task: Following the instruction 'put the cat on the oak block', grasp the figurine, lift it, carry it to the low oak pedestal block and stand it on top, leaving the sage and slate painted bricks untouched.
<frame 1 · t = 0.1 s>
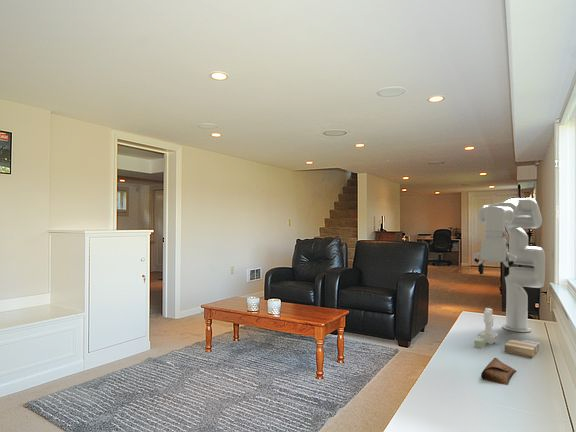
hand: (493, 275, 171), 31 cm above the table, tool pointing down, fingers open, 9 cm apart
sunglasses case: (499, 376, 140), on the table
brick slate: (530, 348, 172), on the table
figurine: (488, 342, 180), on the table
brick sage: (479, 346, 174), on the table
oak pedestal: (521, 351, 167), on the table
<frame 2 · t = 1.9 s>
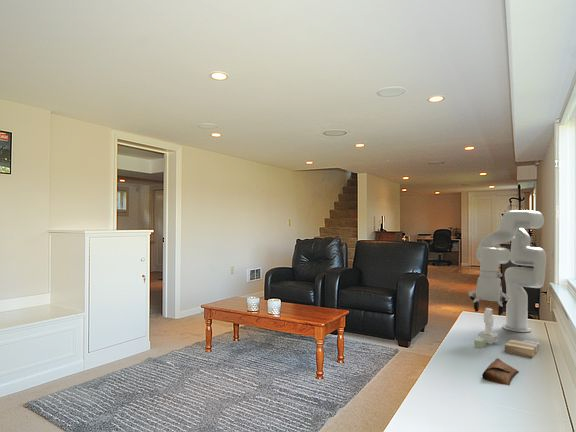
hand: (488, 313, 180), 13 cm above the table, tool pointing down, fingers open, 9 cm apart
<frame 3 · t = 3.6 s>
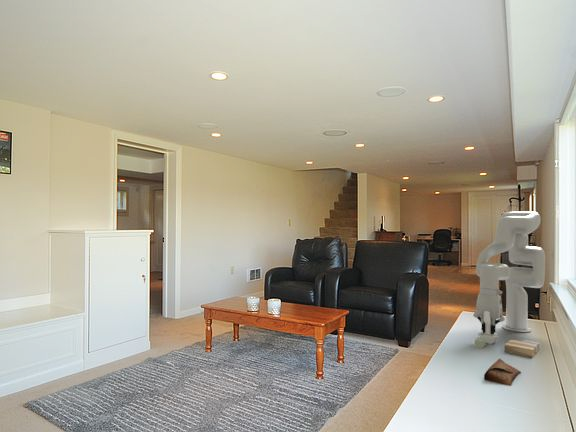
hand: (488, 332, 180), 4 cm above the table, tool pointing down, fingers closed on figurine, 2 cm apart
figurine: (488, 342, 180), on the table, touching gripper
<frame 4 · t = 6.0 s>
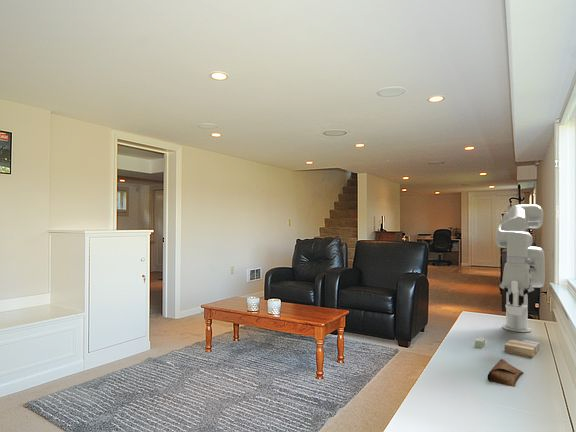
hand: (516, 304, 169), 19 cm above the table, tool pointing down, fingers closed on figurine, 2 cm apart
figurine: (515, 314, 169), point 15 cm above the table, touching gripper
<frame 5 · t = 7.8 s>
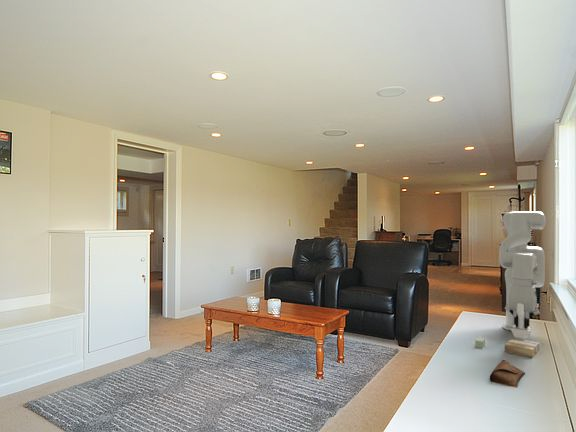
hand: (521, 326, 167), 10 cm above the table, tool pointing down, fingers closed on figurine, 2 cm apart
figurine: (521, 337, 167), point 6 cm above the table, touching gripper
when the fingers open (8 cm above the table, at t = 8.4 s): figurine drops 1 cm, resting on oak pedestal.
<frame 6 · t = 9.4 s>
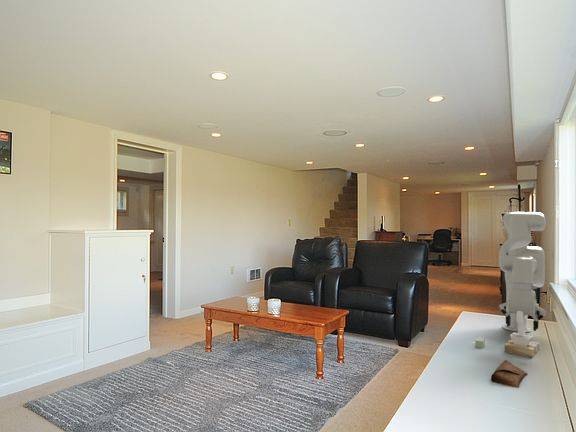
hand: (521, 328, 167), 10 cm above the table, tool pointing down, fingers open, 9 cm apart
figurine: (521, 344, 167), point 3 cm above the table, touching oak pedestal
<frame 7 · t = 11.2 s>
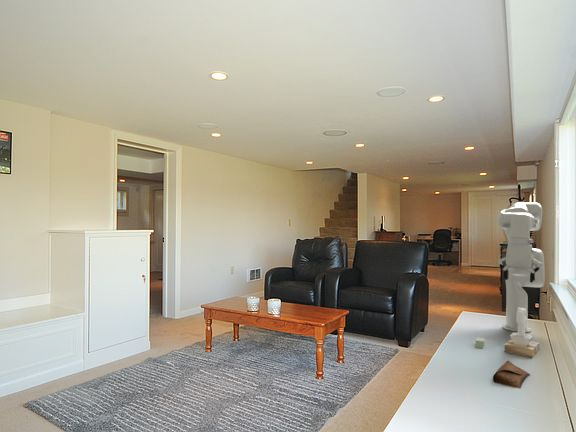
hand: (518, 280, 176), 28 cm above the table, tool pointing down, fingers open, 9 cm apart
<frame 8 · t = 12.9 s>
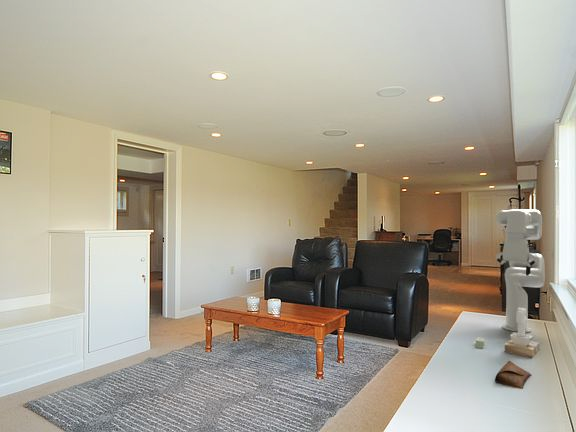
hand: (515, 274, 184), 30 cm above the table, tool pointing down, fingers open, 9 cm apart
at the end: figurine inside the target area on the oak pedestal (0.2 cm from its centre), point 2.8 cm above the oak pedestal's base; figurine tilted 0°; brick sage moved 0.2 cm from its start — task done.
